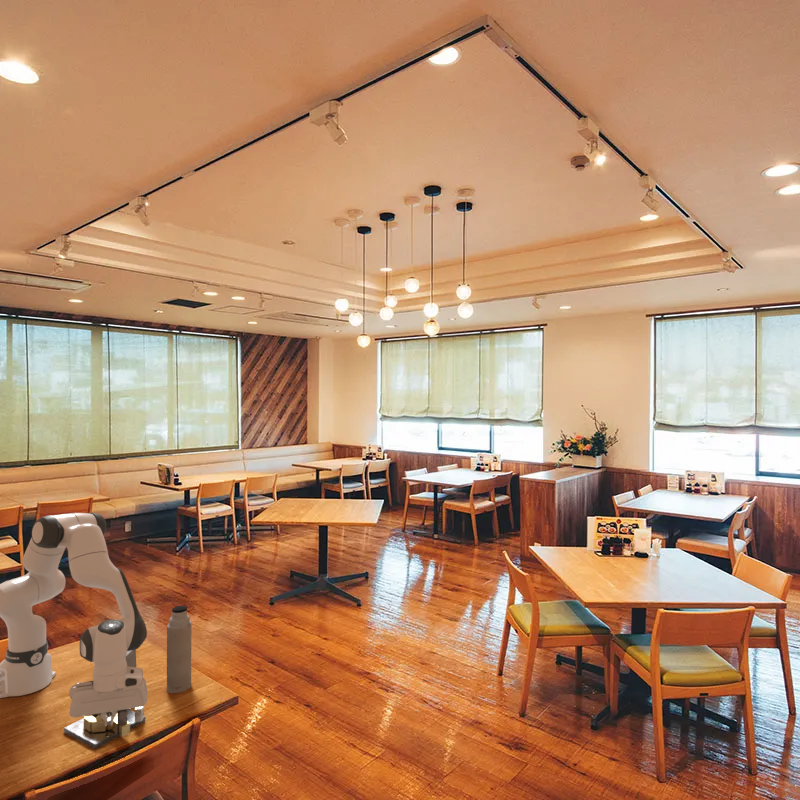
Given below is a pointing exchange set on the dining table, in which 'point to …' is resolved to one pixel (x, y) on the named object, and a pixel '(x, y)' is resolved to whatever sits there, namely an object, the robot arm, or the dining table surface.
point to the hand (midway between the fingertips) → (109, 724)
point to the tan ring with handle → (98, 725)
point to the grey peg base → (102, 737)
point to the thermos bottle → (179, 651)
